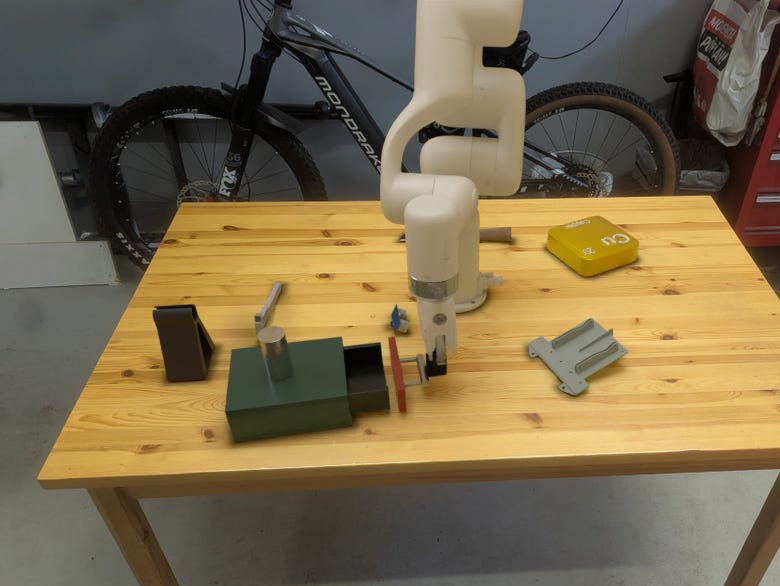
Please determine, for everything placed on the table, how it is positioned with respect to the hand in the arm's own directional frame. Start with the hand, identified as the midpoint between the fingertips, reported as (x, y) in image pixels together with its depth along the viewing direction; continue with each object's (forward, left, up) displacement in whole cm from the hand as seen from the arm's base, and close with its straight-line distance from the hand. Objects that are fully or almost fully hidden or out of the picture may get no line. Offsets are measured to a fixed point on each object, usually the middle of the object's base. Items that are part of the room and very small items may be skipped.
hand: (436, 373), depth 109 cm
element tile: (-40, -35, -3) cm, 53 cm away
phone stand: (+40, -13, -3) cm, 42 cm away
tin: (+24, 0, +4) cm, 25 cm away
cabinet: (+23, 0, -2) cm, 24 cm away
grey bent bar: (+27, -25, -3) cm, 37 cm away
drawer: (+12, 0, -1) cm, 12 cm away
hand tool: (-12, -47, -1) cm, 49 cm away
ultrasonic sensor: (+4, -17, -3) cm, 18 cm away
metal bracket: (-26, -1, -3) cm, 26 cm away
